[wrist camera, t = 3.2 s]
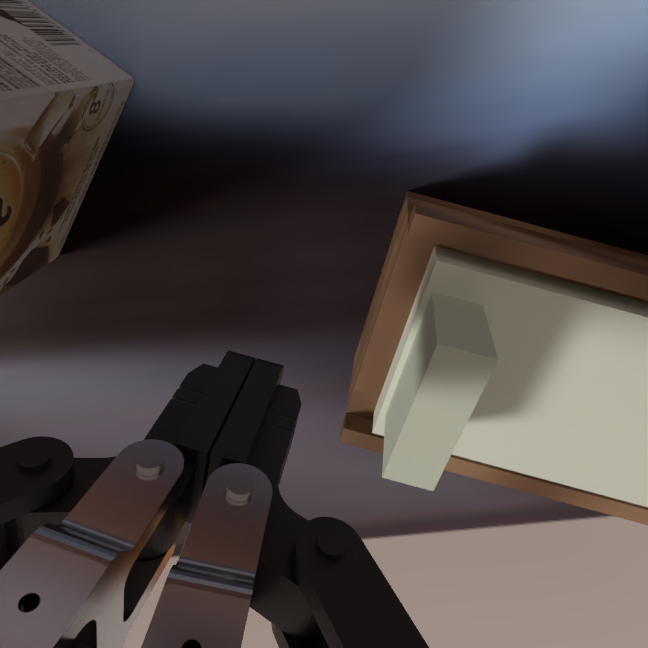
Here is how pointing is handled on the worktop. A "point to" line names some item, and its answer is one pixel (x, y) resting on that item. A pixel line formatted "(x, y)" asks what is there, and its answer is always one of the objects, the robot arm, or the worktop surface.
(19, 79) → the coffee box
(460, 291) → the lid
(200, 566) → the robot arm
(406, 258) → the walnut box
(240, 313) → the worktop surface
